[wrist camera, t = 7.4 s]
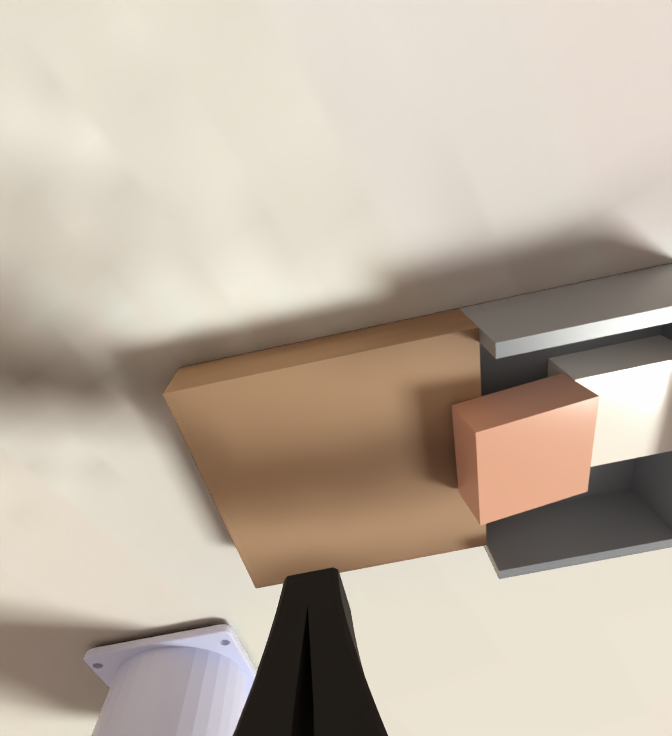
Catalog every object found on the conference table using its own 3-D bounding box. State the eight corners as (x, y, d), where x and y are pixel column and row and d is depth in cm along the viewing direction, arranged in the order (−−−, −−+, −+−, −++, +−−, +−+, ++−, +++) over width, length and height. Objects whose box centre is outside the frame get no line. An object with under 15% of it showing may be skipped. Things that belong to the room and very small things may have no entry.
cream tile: (642, 424, 16) (675, 449, 14) (543, 444, 16) (566, 471, 15) (660, 334, 14) (700, 353, 13) (548, 358, 14) (575, 379, 13)
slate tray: (633, 488, 18) (689, 543, 15) (471, 519, 18) (499, 578, 16) (679, 261, 13) (773, 284, 10) (458, 308, 13) (495, 343, 11)
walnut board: (471, 511, 18) (486, 544, 16) (260, 551, 18) (255, 588, 17) (458, 308, 13) (478, 327, 12) (179, 368, 14) (162, 393, 12)
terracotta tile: (555, 462, 15) (587, 491, 14) (458, 492, 15) (480, 525, 13) (562, 373, 13) (599, 396, 12) (451, 404, 13) (475, 432, 12)
